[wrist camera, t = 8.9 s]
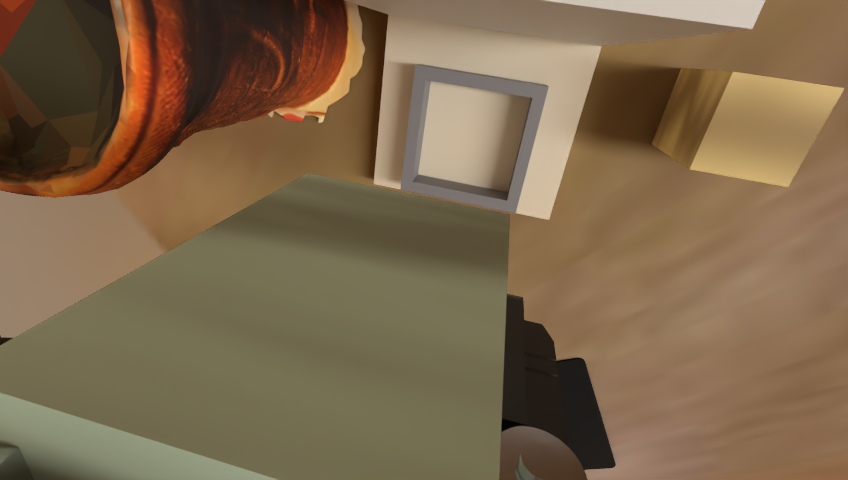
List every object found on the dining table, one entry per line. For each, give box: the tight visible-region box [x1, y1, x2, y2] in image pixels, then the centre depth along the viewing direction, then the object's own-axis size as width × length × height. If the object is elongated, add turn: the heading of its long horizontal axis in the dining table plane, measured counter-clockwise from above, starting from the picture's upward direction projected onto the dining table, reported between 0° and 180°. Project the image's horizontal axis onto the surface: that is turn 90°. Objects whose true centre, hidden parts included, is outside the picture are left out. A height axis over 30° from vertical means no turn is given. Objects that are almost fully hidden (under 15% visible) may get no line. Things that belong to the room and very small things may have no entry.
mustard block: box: [651, 68, 844, 187], centre depth 24 cm, size 5×5×7 cm
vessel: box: [0, 0, 365, 198], centre depth 21 cm, size 14×14×20 cm
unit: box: [345, 0, 765, 220], centre depth 21 cm, size 14×14×20 cm
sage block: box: [0, 173, 510, 480], centre depth 7 cm, size 5×5×7 cm
